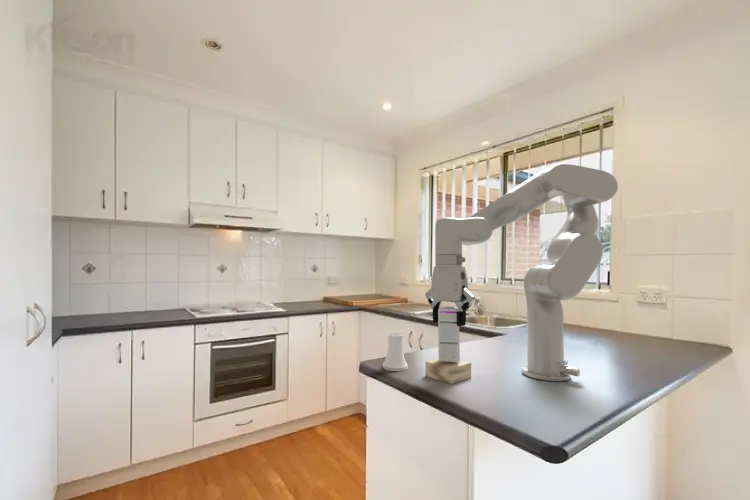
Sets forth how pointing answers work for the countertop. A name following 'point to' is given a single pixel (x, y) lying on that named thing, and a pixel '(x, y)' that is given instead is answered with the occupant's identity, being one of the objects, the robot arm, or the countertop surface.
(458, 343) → the syrup box
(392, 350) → the white flared cylinder
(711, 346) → the countertop surface
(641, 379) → the countertop surface
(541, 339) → the robot arm
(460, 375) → the beech block
